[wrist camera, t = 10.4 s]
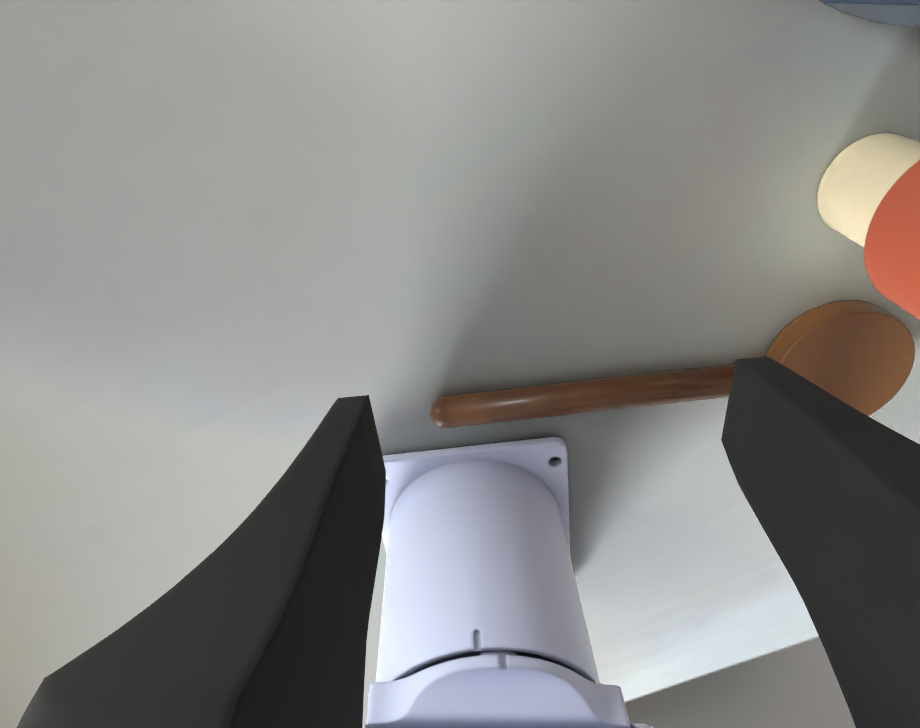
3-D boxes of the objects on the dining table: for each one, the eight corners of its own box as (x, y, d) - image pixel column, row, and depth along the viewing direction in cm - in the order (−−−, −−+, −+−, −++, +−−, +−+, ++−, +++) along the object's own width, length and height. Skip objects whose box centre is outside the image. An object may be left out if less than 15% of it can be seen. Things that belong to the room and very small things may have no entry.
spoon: (912, 291, 22) (936, 306, 21) (880, 406, 25) (899, 424, 24) (420, 348, 23) (419, 365, 22) (438, 455, 25) (438, 475, 24)
